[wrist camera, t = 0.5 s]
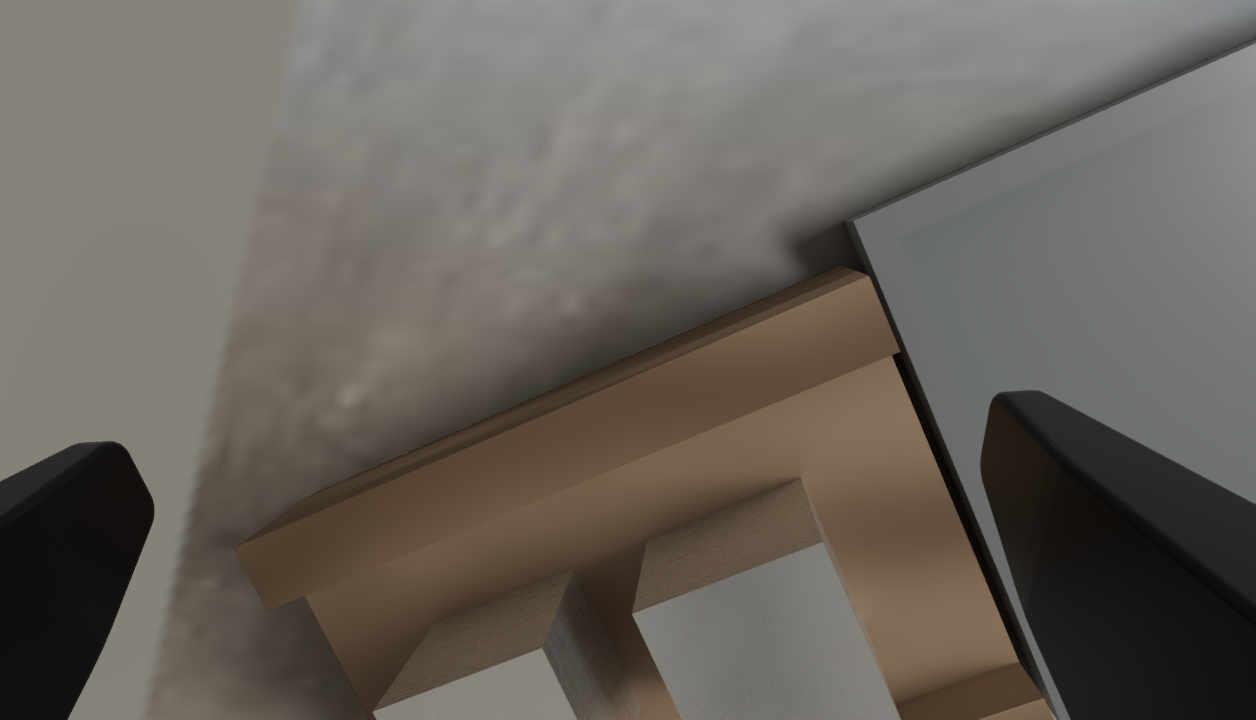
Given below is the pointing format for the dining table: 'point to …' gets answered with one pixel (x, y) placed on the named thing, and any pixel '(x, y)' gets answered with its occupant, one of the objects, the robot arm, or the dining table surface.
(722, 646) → the grey metal cube
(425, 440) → the dining table surface
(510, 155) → the dining table surface
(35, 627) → the robot arm
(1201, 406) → the tray
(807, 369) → the slot block
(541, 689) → the brushed metal block
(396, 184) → the dining table surface
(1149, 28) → the dining table surface
